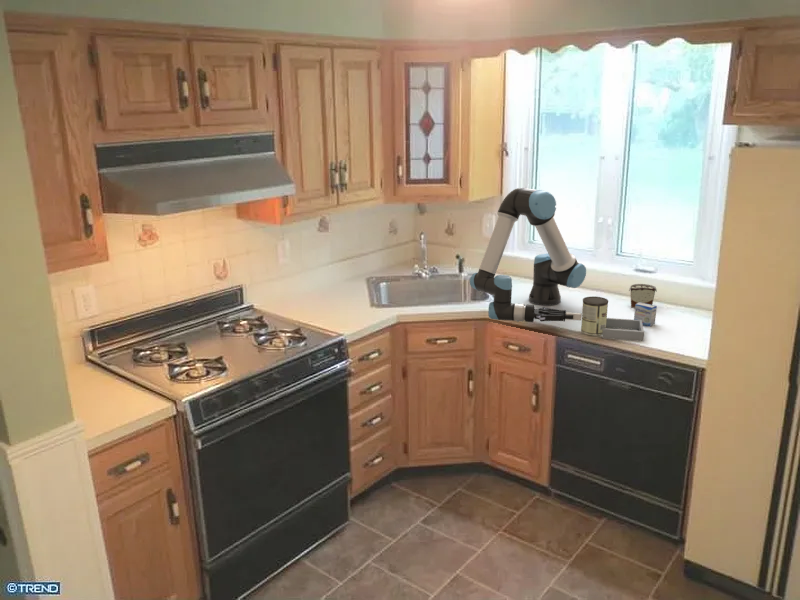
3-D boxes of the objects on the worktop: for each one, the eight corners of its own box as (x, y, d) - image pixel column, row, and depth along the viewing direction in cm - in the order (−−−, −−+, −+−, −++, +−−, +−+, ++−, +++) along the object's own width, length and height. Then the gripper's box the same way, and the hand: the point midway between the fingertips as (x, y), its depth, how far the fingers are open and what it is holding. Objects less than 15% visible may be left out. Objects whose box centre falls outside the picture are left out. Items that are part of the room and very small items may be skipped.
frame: (602, 338, 281) (602, 329, 280) (601, 326, 295) (602, 317, 294) (643, 341, 277) (644, 332, 276) (640, 329, 291) (641, 320, 290)
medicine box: (633, 322, 299) (634, 303, 296) (638, 320, 302) (639, 301, 299) (650, 326, 293) (652, 307, 291) (655, 324, 296) (657, 305, 294)
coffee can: (584, 326, 296) (586, 295, 291) (608, 329, 290) (611, 298, 286) (577, 333, 287) (579, 301, 283) (602, 337, 282) (604, 304, 278)
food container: (651, 304, 324) (653, 283, 321) (655, 308, 318) (657, 287, 315) (625, 303, 325) (626, 283, 322) (627, 307, 319) (629, 287, 316)
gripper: (526, 316, 301) (581, 320, 295) (522, 326, 289) (580, 330, 283) (526, 300, 299) (582, 303, 292) (523, 309, 287) (581, 313, 280)
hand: (581, 316), depth 287 cm, fingers closed
